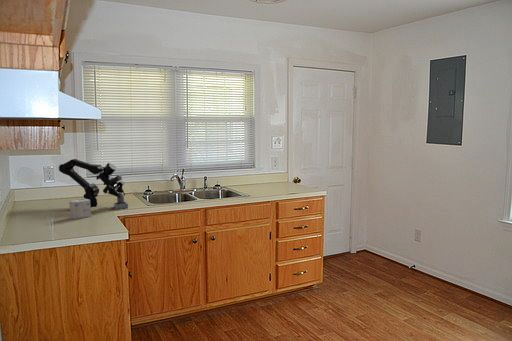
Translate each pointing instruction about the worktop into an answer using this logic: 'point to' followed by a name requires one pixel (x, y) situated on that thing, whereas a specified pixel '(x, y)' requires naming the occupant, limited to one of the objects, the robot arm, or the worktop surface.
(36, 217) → the worktop surface
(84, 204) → the light bulb box
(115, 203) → the charging dock
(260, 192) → the worktop surface
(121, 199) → the charger
